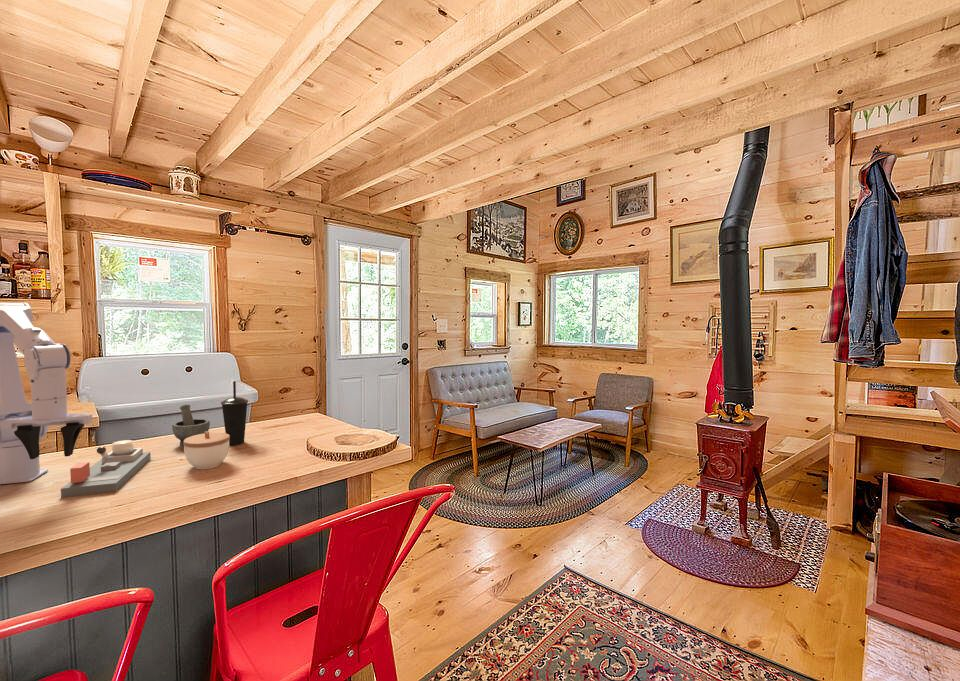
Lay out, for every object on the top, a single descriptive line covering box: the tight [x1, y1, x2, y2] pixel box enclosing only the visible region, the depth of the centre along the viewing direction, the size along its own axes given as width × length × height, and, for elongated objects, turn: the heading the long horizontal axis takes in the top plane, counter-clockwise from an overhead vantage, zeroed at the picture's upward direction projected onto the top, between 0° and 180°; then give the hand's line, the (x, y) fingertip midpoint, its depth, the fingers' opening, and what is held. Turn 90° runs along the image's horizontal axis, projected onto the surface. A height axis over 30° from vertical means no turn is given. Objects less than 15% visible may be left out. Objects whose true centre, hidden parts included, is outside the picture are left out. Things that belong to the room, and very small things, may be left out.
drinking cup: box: [220, 380, 249, 446], centre depth 139 cm, size 8×8×20 cm
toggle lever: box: [96, 446, 111, 461], centre depth 110 cm, size 2×2×4 cm
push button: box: [111, 439, 134, 454], centre depth 118 cm, size 4×4×2 cm
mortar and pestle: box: [171, 404, 211, 448], centre depth 138 cm, size 11×9×12 cm
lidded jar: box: [183, 430, 230, 470], centre depth 119 cm, size 11×11×9 cm
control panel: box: [60, 447, 152, 498], centre depth 111 cm, size 10×24×4 cm, turn 22°
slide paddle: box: [69, 461, 91, 483], centre depth 102 cm, size 2×4×3 cm, turn 22°
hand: (51, 456), depth 100 cm, fingers open, 5 cm apart
